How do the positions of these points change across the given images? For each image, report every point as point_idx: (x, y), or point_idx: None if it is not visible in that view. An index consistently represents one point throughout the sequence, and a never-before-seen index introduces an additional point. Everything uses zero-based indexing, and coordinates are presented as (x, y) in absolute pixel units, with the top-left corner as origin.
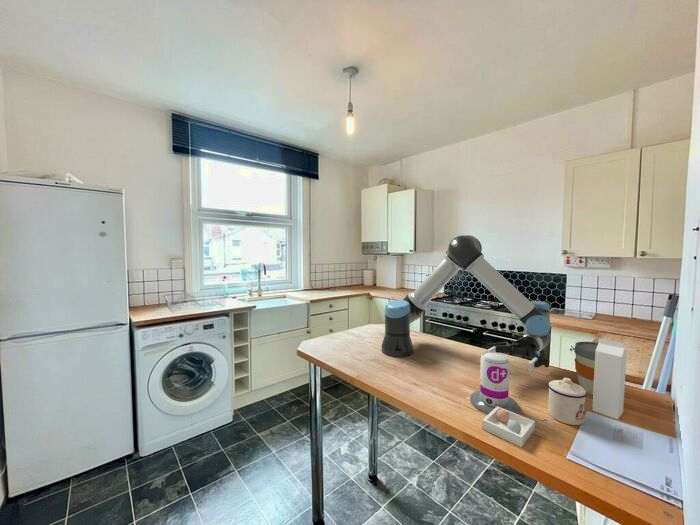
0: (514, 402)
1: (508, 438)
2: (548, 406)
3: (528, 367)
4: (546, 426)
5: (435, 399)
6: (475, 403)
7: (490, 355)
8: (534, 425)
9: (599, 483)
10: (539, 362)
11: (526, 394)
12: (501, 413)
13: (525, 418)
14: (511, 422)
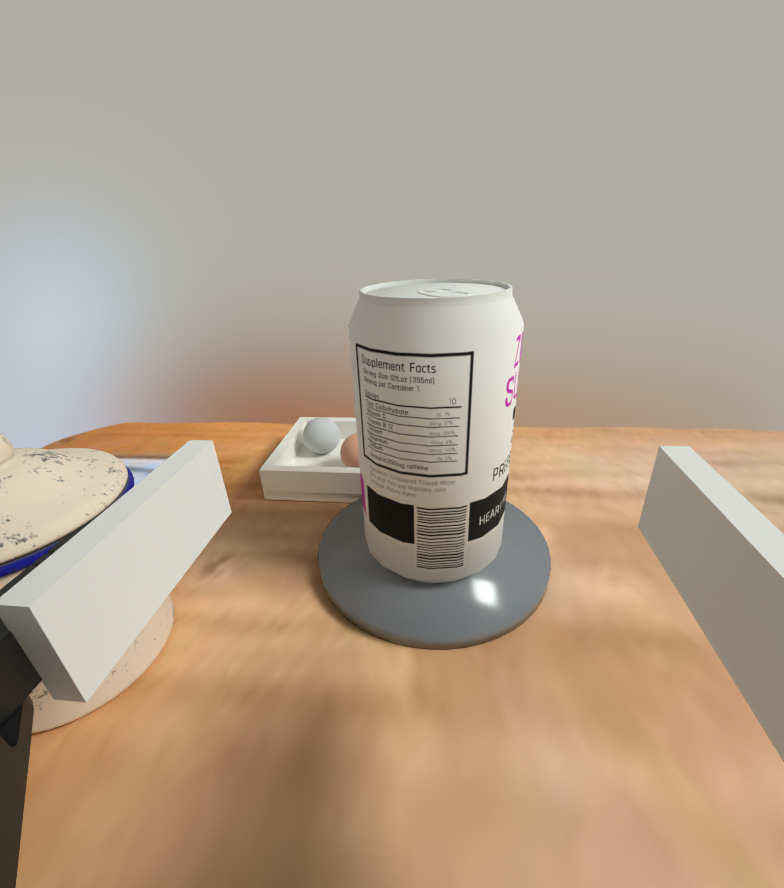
0: (343, 587)
1: None
2: (164, 600)
3: (221, 481)
4: (217, 534)
5: (608, 469)
6: None
7: (463, 290)
8: (263, 480)
9: (158, 440)
10: (38, 560)
11: (275, 811)
12: None
13: (289, 467)
14: (327, 418)
